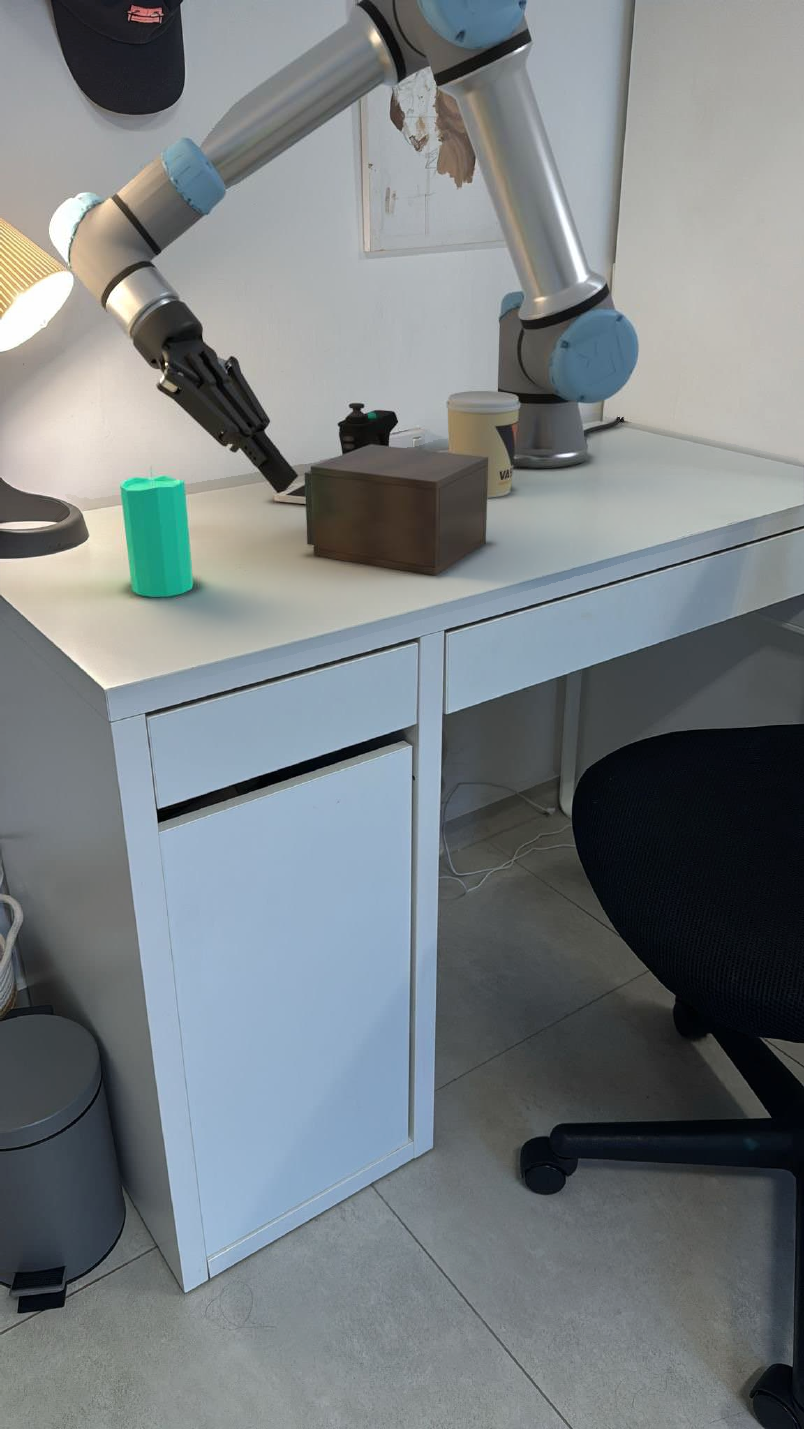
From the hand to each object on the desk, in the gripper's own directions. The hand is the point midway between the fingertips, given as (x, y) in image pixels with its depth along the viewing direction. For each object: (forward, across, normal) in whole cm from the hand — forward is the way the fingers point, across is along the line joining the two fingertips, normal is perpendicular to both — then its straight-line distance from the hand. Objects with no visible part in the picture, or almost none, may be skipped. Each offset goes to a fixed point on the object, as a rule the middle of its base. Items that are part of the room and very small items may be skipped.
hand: (288, 484), depth 123 cm
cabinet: (+14, 0, +6) cm, 16 cm away
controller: (0, -29, -8) cm, 31 cm away
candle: (+4, +22, -4) cm, 23 cm away
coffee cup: (+12, -28, +4) cm, 31 cm away
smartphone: (+2, -15, -6) cm, 16 cm away
